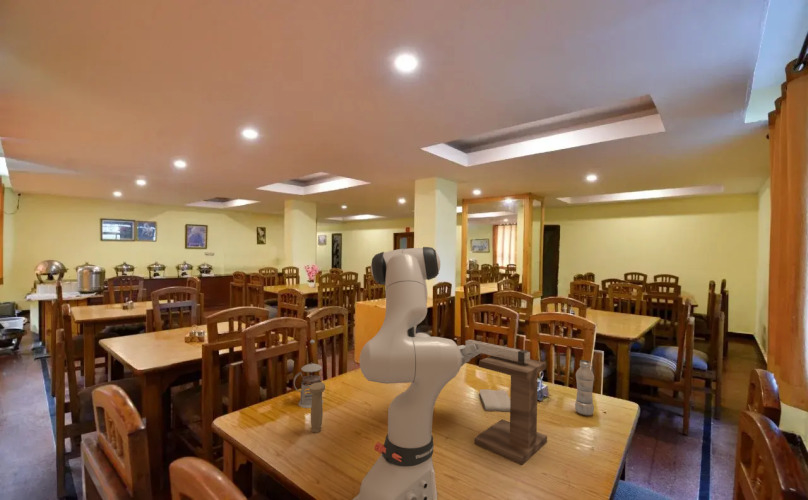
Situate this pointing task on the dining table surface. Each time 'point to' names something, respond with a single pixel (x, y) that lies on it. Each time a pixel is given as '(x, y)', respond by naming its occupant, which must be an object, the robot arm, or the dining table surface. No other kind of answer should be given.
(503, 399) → the washcloth
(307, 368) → the french press
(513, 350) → the grey square bar
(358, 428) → the dining table surface
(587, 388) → the plastic bottle
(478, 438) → the mount stand
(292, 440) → the dining table surface
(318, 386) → the handle
